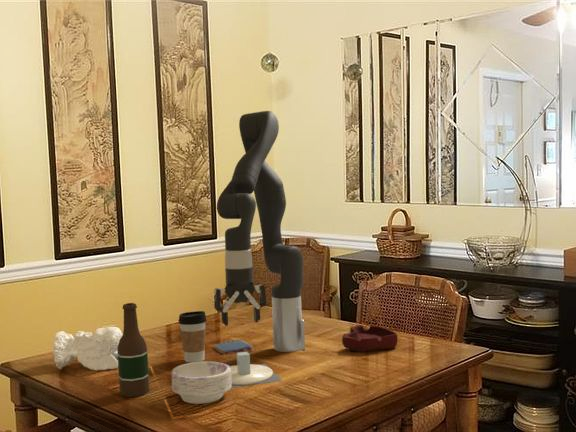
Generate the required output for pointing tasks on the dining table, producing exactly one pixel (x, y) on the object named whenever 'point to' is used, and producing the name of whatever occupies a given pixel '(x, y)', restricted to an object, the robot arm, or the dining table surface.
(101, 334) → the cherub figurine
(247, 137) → the robot arm
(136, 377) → the beer bottle
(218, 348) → the woven mat
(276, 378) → the mat
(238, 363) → the lid
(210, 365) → the paper bowls
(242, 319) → the dining table surface
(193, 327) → the coffee cup
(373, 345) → the ashtray
